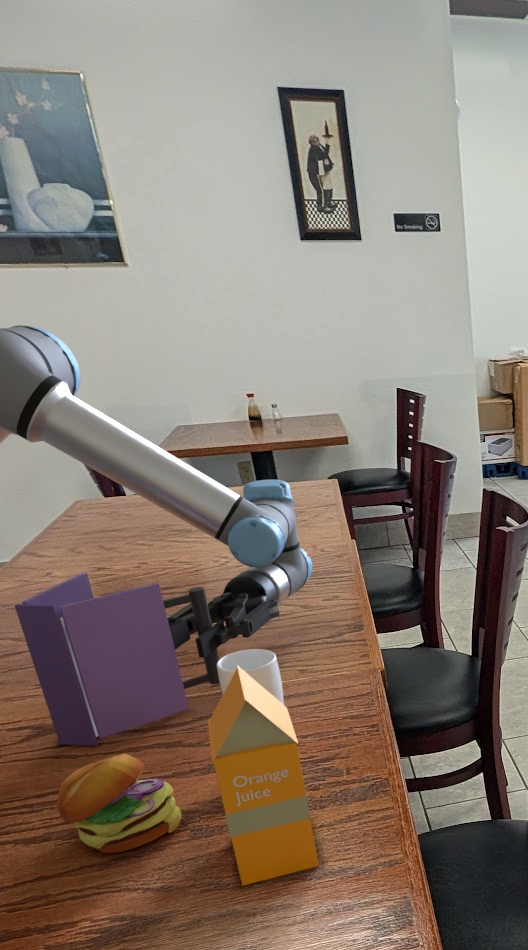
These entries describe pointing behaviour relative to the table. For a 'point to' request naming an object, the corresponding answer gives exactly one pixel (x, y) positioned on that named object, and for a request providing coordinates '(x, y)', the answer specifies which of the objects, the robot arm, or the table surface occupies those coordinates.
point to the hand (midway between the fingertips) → (180, 647)
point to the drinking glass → (252, 670)
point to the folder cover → (133, 655)
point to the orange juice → (261, 782)
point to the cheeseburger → (117, 805)
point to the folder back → (59, 659)
